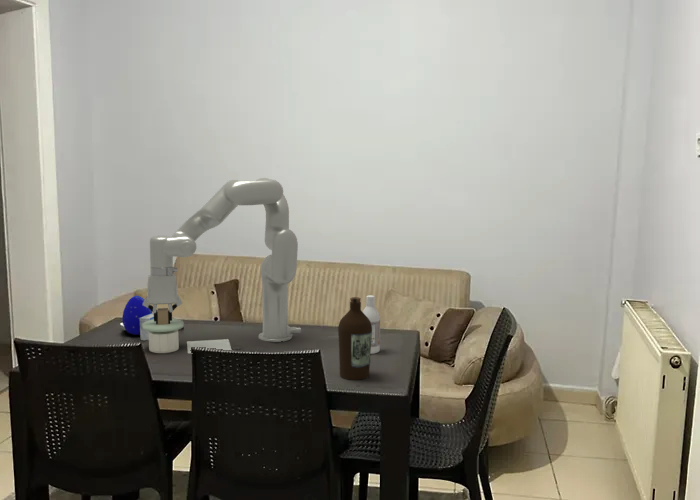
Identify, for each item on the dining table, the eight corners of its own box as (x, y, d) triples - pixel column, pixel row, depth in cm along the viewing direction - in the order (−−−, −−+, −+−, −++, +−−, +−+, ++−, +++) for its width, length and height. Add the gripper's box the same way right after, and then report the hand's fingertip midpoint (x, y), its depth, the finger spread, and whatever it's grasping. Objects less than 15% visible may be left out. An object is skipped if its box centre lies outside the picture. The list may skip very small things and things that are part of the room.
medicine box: (150, 341, 258) (149, 318, 256) (140, 340, 259) (139, 317, 258) (162, 335, 265) (161, 313, 264) (152, 334, 266) (151, 312, 265)
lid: (183, 320, 254) (182, 304, 253) (184, 330, 241) (183, 313, 240) (143, 322, 251) (142, 305, 250) (141, 332, 237) (141, 314, 236)
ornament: (156, 331, 271) (155, 293, 269) (147, 338, 262) (146, 298, 259) (128, 330, 272) (127, 292, 269) (118, 337, 263) (117, 297, 260)
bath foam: (382, 353, 246) (383, 297, 243) (363, 354, 244) (363, 298, 241) (376, 347, 252) (377, 293, 249) (357, 349, 251) (358, 294, 248)
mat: (228, 340, 260) (228, 339, 260) (231, 352, 245) (231, 350, 245) (186, 342, 256) (186, 341, 256) (188, 354, 242) (188, 353, 242)
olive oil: (331, 372, 224) (332, 296, 221) (360, 368, 230) (361, 293, 226) (348, 382, 215) (348, 303, 211) (377, 377, 220) (378, 299, 217)
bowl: (178, 345, 253) (177, 326, 252) (178, 353, 243) (178, 333, 242) (149, 346, 250) (149, 327, 249) (149, 355, 241) (148, 335, 240)
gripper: (186, 268, 248) (187, 319, 251) (137, 270, 244) (138, 321, 247) (186, 272, 241) (187, 324, 244) (136, 274, 237) (138, 327, 240)
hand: (163, 322), depth 245 cm, fingers closed on lid, 3 cm apart
